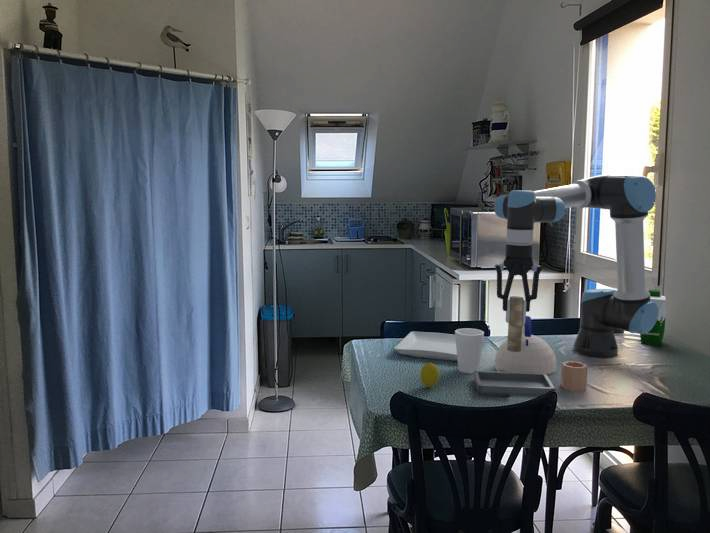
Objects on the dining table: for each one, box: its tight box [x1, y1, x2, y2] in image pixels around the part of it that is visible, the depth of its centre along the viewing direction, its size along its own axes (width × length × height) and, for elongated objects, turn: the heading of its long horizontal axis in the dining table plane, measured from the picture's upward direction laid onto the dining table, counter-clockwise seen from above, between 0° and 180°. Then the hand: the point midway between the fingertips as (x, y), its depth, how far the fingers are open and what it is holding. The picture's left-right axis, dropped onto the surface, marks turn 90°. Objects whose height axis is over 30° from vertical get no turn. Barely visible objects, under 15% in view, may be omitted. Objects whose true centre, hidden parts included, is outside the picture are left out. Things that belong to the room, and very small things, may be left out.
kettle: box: [493, 315, 557, 375], centre depth 212 cm, size 20×21×18 cm
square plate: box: [393, 331, 458, 362], centre depth 233 cm, size 27×27×4 cm
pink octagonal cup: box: [560, 360, 589, 392], centre depth 192 cm, size 7×7×8 cm
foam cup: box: [454, 327, 485, 374], centre depth 210 cm, size 10×9×13 cm
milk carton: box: [639, 289, 667, 346], centre depth 246 cm, size 9×9×20 cm
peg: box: [507, 295, 525, 352], centre depth 190 cm, size 4×4×16 cm
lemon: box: [420, 361, 440, 389], centre depth 193 cm, size 6×6×8 cm
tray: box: [473, 370, 556, 398], centre depth 193 cm, size 22×14×3 cm, turn 84°
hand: (515, 321), depth 190 cm, fingers closed on peg, 4 cm apart
